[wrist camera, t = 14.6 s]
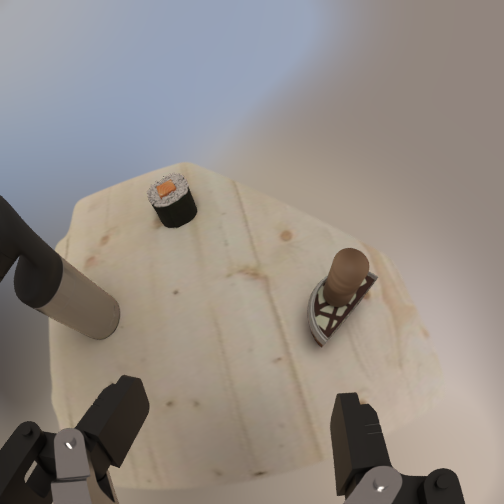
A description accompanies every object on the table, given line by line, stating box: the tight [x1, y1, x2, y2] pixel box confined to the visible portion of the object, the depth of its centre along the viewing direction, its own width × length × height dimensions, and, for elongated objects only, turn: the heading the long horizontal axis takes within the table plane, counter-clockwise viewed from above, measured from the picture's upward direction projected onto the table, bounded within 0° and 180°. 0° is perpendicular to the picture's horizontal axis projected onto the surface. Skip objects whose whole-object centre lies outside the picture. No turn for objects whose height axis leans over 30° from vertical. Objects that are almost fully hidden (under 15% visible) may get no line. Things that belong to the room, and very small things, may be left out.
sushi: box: [147, 173, 197, 228], centre depth 54 cm, size 8×8×8 cm
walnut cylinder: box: [323, 248, 369, 307], centre depth 32 cm, size 4×4×8 cm
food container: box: [308, 272, 378, 347], centre depth 40 cm, size 12×6×10 cm, turn 135°
